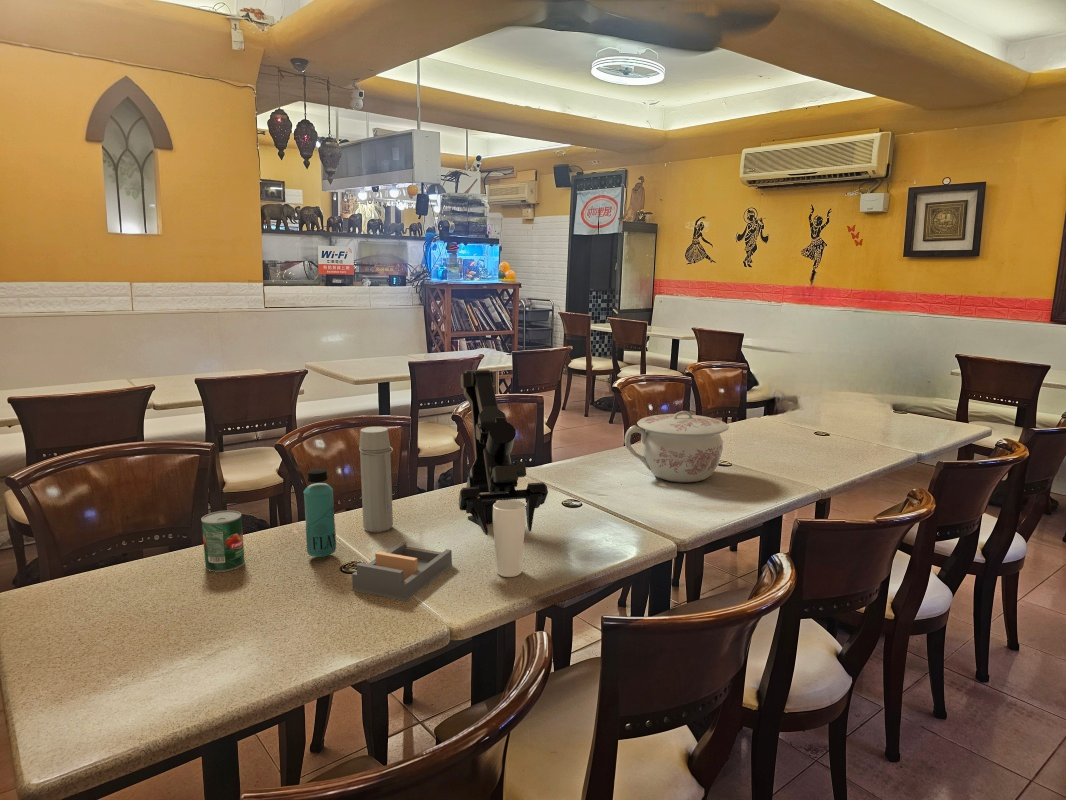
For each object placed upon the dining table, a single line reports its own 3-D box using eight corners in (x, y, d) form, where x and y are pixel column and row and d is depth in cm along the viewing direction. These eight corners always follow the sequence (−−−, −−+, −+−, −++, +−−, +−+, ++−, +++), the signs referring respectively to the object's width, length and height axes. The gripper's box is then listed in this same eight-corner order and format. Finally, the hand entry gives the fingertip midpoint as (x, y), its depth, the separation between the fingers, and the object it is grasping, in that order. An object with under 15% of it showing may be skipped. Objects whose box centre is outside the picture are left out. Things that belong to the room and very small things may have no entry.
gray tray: (402, 556, 158) (401, 532, 157) (451, 565, 153) (451, 540, 152) (352, 590, 141) (351, 563, 140) (406, 601, 137) (405, 573, 136)
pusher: (379, 574, 147) (378, 551, 146) (418, 581, 143) (417, 558, 143) (376, 576, 146) (375, 553, 145) (415, 583, 142) (414, 560, 141)
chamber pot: (738, 472, 223) (741, 408, 219) (709, 496, 200) (712, 424, 196) (654, 460, 238) (656, 399, 234) (618, 480, 215) (620, 413, 211)
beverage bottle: (309, 565, 153) (304, 476, 149) (304, 554, 159) (298, 468, 155) (340, 560, 156) (335, 472, 152) (333, 549, 162) (329, 464, 158)
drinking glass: (521, 581, 146) (521, 511, 143) (489, 578, 147) (488, 509, 144) (528, 567, 152) (528, 500, 149) (497, 565, 153) (497, 498, 151)
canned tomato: (205, 561, 156) (201, 513, 154) (244, 555, 159) (240, 508, 157) (205, 575, 148) (200, 525, 146) (245, 568, 151) (241, 519, 149)
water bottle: (356, 528, 175) (351, 429, 170) (382, 520, 180) (379, 424, 176) (378, 538, 169) (373, 435, 164) (405, 529, 174) (401, 430, 170)
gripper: (459, 451, 149) (467, 518, 140) (546, 446, 153) (559, 511, 144) (455, 477, 157) (463, 542, 149) (537, 471, 162) (549, 535, 153)
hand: (508, 532), depth 148 cm, fingers open, 9 cm apart
